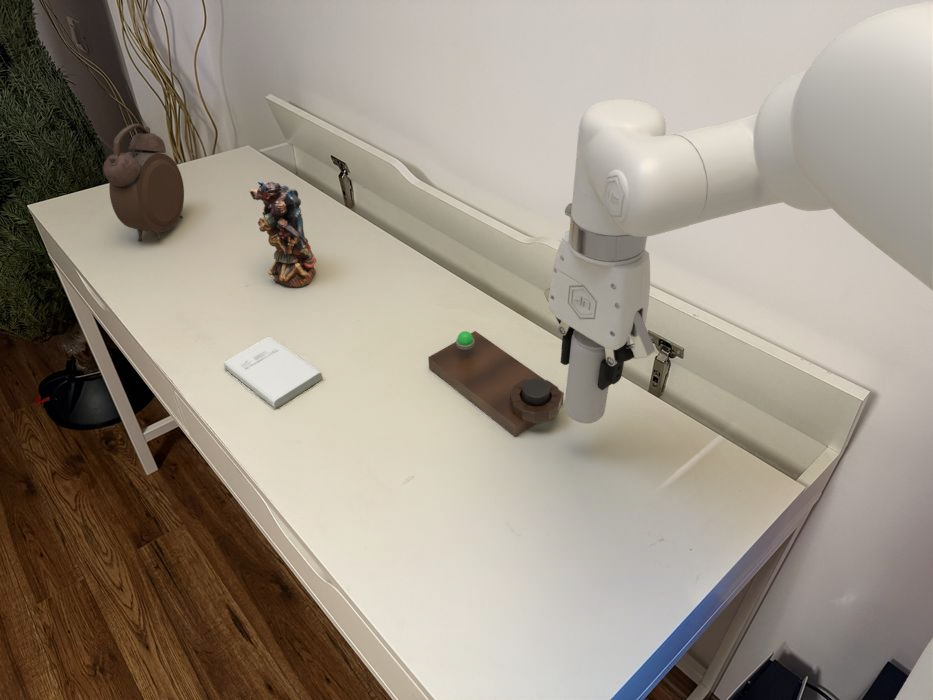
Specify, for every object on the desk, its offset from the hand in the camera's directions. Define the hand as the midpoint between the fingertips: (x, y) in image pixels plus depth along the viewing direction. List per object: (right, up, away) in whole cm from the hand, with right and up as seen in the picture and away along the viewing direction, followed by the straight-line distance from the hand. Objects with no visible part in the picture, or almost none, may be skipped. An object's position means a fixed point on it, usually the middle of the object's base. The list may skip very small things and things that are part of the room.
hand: (589, 369), depth 80 cm
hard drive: (-42, -1, +21) cm, 47 cm away
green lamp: (-14, +3, +19) cm, 24 cm away
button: (-5, -4, +11) cm, 13 cm away
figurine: (-45, +14, +39) cm, 61 cm away
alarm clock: (-72, +25, +53) cm, 93 cm away
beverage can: (0, -5, +5) cm, 7 cm away
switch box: (-10, -3, +18) cm, 20 cm away
